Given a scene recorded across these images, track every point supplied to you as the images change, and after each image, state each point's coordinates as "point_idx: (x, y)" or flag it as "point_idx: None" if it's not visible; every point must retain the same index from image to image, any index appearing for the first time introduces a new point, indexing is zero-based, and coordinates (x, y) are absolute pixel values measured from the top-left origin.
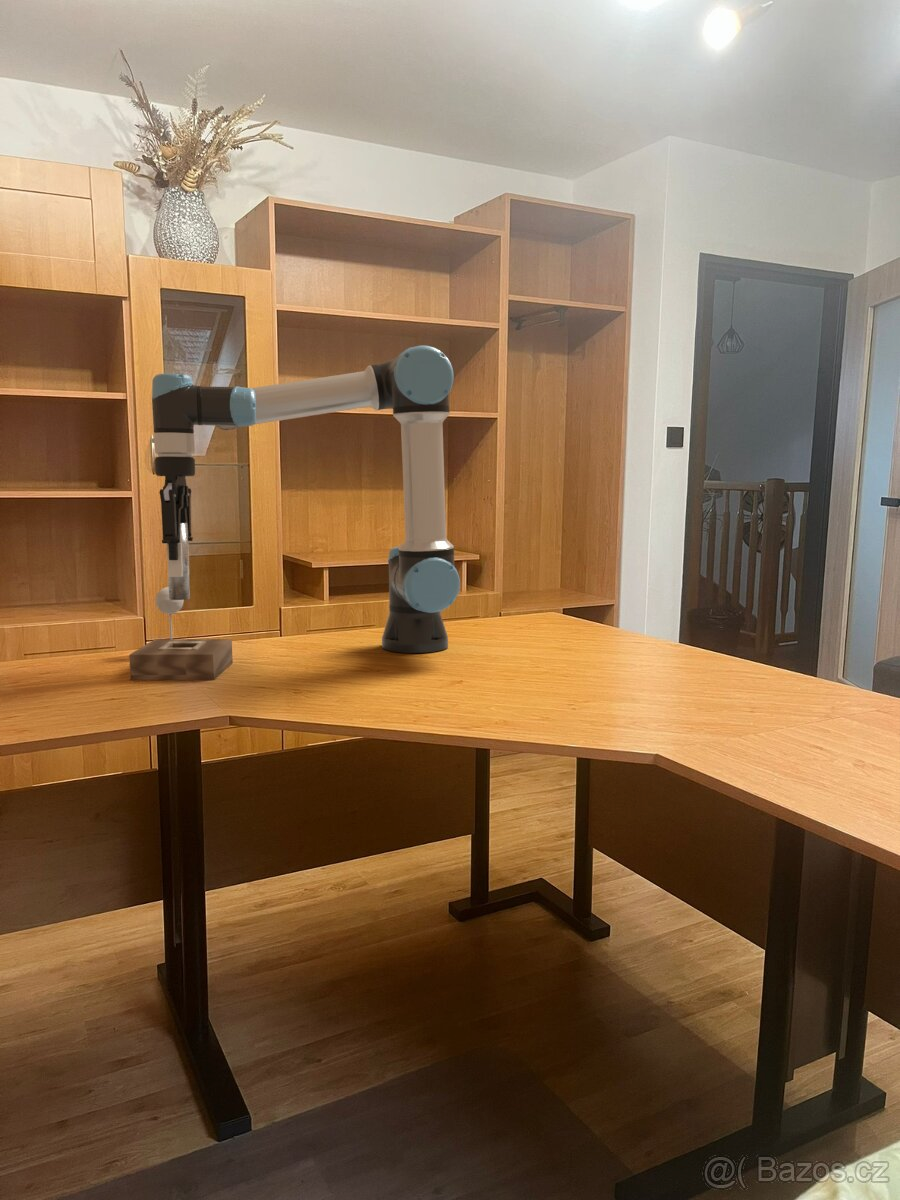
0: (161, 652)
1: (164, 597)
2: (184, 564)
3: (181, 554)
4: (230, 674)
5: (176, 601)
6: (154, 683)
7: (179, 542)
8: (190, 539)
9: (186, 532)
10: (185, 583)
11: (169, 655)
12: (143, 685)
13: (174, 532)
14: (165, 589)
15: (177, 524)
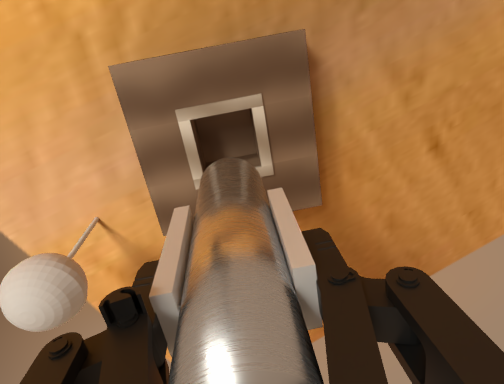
0: (296, 156)
1: (77, 295)
2: (256, 210)
3: (294, 232)
4: (237, 16)
5: (62, 264)
6: (328, 135)
7: (327, 270)
8: (140, 295)
9: (247, 309)
10: (248, 178)
11: (314, 129)
12: (344, 146)
13: (450, 304)
14: (50, 315)
15: (382, 371)
